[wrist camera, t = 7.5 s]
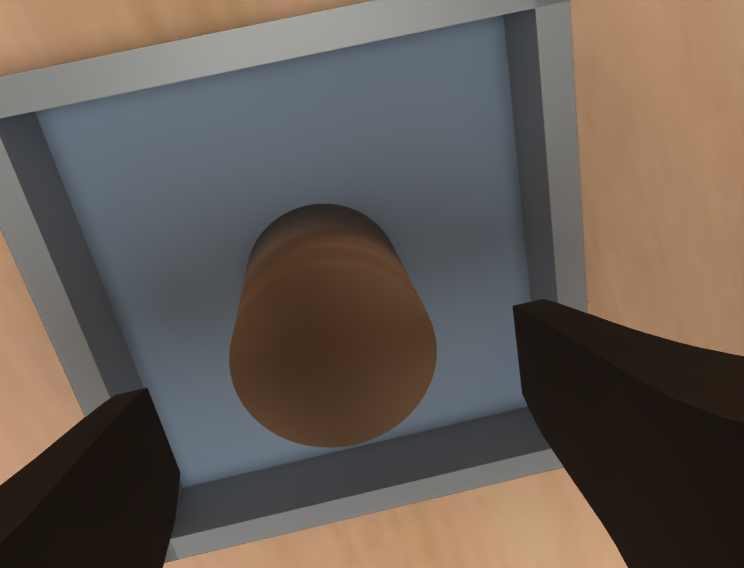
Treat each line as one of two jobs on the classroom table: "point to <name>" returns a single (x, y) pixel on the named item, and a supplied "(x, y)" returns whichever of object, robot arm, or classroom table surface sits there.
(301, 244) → the walnut post
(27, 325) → the classroom table surface
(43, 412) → the classroom table surface
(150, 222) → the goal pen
